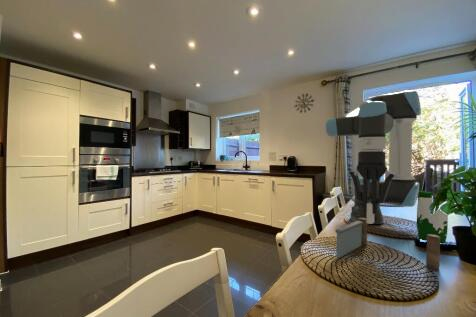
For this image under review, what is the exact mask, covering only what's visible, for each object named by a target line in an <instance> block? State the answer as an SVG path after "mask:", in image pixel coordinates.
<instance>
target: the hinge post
mask: <svg viewBox="0 0 476 317" xmlns="http://www.w3.org/2000/svg"><path fill="white" fill-rule="evenodd" d="M358 221H361V222H363V225H362V234H361V246H360V247H367V245H368V244H367V243H368V224H367V219H365V218H358Z"/></svg>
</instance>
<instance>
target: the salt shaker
mask: <svg viewBox="0 0 476 317" xmlns="http://www.w3.org/2000/svg"><path fill="white" fill-rule="evenodd" d="M350 215H351V219H350V220H348V221H347V223H348V224H351V223H353V222H356V221H358V218H359V208H358V207H357V206H356V205H355V206H354V205H353V206H352V207H351V212H350ZM348 224H347V225H348Z"/></svg>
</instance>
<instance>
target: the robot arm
mask: <svg viewBox="0 0 476 317" xmlns="http://www.w3.org/2000/svg"><path fill="white" fill-rule="evenodd" d="M418 93H419V92H418V91H417V90H413V89H411V90H403V91H397V92H396V91H395V92H391V93H385V94H380V95H379V94H378V95H375V96H373V97H370V98H367V99H365V100H363V101H361V102H359V103H358V104H357V105H356V106H355V108H354V109H351V110H349V111H348V112H347V113H345V114H343V115H342V116H339V117H332V118H329V119H327V121H325V122H326V123H325V131H326V134H327V136H329V137H336V138H337V137H348V136H349V137H350V136H358V138H357V139H358V144H357V145H358V146H357V148H358V150H359V151H358V152H357V156H358V157H357V159H358V160H357V165H356V168H355V169H354V170H351V171H349V172H348V174H349V175H350V177H351V178H352V182H353V186H354V200H353V201H354V205H353V206H355V205H356V206H357V207H358V208H359V218H365V219H367V225H369V224H381V225H383V224H382V223H385V220H384V219H385V218H384V215H383V213H382V212H383V211H382V209H381V204H387V205H392V206H393V205H395V206H401V207H410V208H411V207H412V208H413V207H414V206H415V205H416V203H417V202H418V195H419V191H420V182H418V181H416V177H414V176H413V175H412V160H413V159H412V155H413V154H412V152H413V149H412V148H413V146H412V145H413V123H414V122H415V121H416V120H417V119H418V118H417V116H421V114H422V107H421V102H420V97H419V94H418ZM387 134H389V136H388V138H389V139H388V140H389V141H388V142H389V143H388V144H389V145H388V146H389V147H388V150H389V152H388V167H387V165H386V152H385V151H384V150H386V149H387V147H386V145H387V143H386V142H387V141H386V140H387V139H386V138H387V136H386V135H387ZM384 174H385V175H384ZM359 175H360V176H361V177H359ZM383 176H384V179H382V177H383ZM350 218H351V214H350ZM350 218H349V219H350Z"/></svg>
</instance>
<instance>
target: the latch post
mask: <svg viewBox="0 0 476 317" xmlns="http://www.w3.org/2000/svg"><path fill="white" fill-rule="evenodd" d="M425 254H426V255H425V258H426V259H425V261H426V262H425V264H426V265H425V267H426V269H428V270H430V271H434V272H440V265H441V263H440V262H441V261H440V260H441V259H440V258H441V257H440V256H441V247H440V237H439V236H437V235H432V234H427V244H426V253H425Z"/></svg>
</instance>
